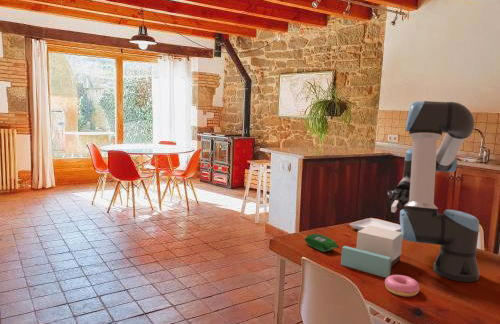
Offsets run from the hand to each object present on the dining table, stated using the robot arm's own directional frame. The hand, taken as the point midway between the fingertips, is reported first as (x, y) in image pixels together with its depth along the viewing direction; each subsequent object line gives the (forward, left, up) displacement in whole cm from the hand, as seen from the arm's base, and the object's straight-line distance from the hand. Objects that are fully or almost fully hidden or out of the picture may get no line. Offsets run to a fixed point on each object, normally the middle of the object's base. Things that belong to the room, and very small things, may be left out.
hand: (393, 209), depth 162 cm
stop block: (-4, +25, -19) cm, 31 cm away
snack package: (+22, +19, -19) cm, 35 cm away
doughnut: (-21, +30, -19) cm, 41 cm away
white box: (-1, +11, -17) cm, 20 cm away
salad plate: (+20, -26, -20) cm, 39 cm away
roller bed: (-2, +14, -19) cm, 24 cm away
